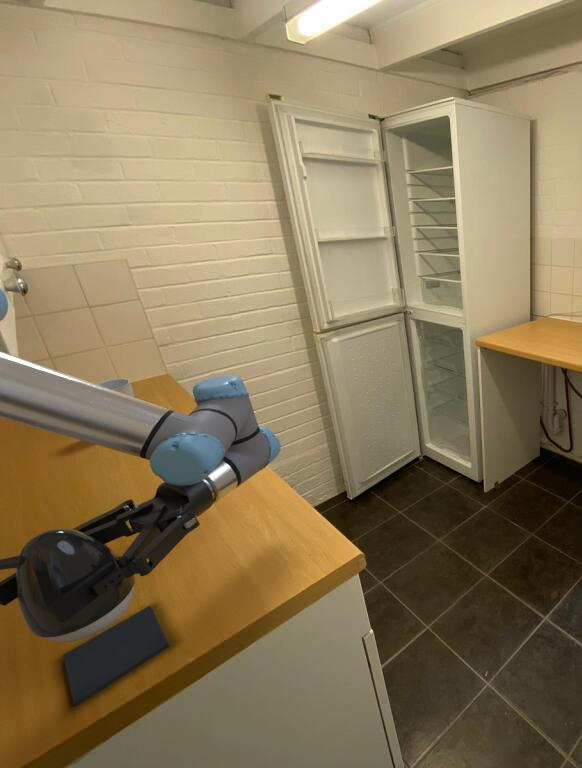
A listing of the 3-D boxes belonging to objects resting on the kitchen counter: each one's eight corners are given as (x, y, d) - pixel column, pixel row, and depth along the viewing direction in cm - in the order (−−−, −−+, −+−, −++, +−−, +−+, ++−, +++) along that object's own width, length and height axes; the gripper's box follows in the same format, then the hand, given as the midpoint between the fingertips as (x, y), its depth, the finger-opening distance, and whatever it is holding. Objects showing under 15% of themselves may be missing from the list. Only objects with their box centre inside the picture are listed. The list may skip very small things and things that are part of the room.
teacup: (137, 396, 144) (128, 375, 141) (139, 406, 137) (129, 384, 134) (83, 410, 136) (71, 387, 133) (82, 421, 128) (69, 397, 125)
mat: (76, 708, 53) (72, 703, 53) (65, 659, 59) (62, 655, 59) (170, 647, 60) (167, 643, 60) (152, 609, 66) (150, 605, 66)
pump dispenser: (43, 622, 57) (-19, 538, 51) (140, 575, 64) (95, 496, 57) (42, 675, 50) (-29, 585, 44) (150, 617, 57) (101, 531, 51)
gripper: (257, 516, 68) (106, 646, 49) (155, 498, 74) (-19, 609, 54) (243, 478, 65) (76, 601, 45) (137, 462, 71) (-53, 566, 51)
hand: (25, 605), depth 50 cm, fingers closed on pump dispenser, 10 cm apart
